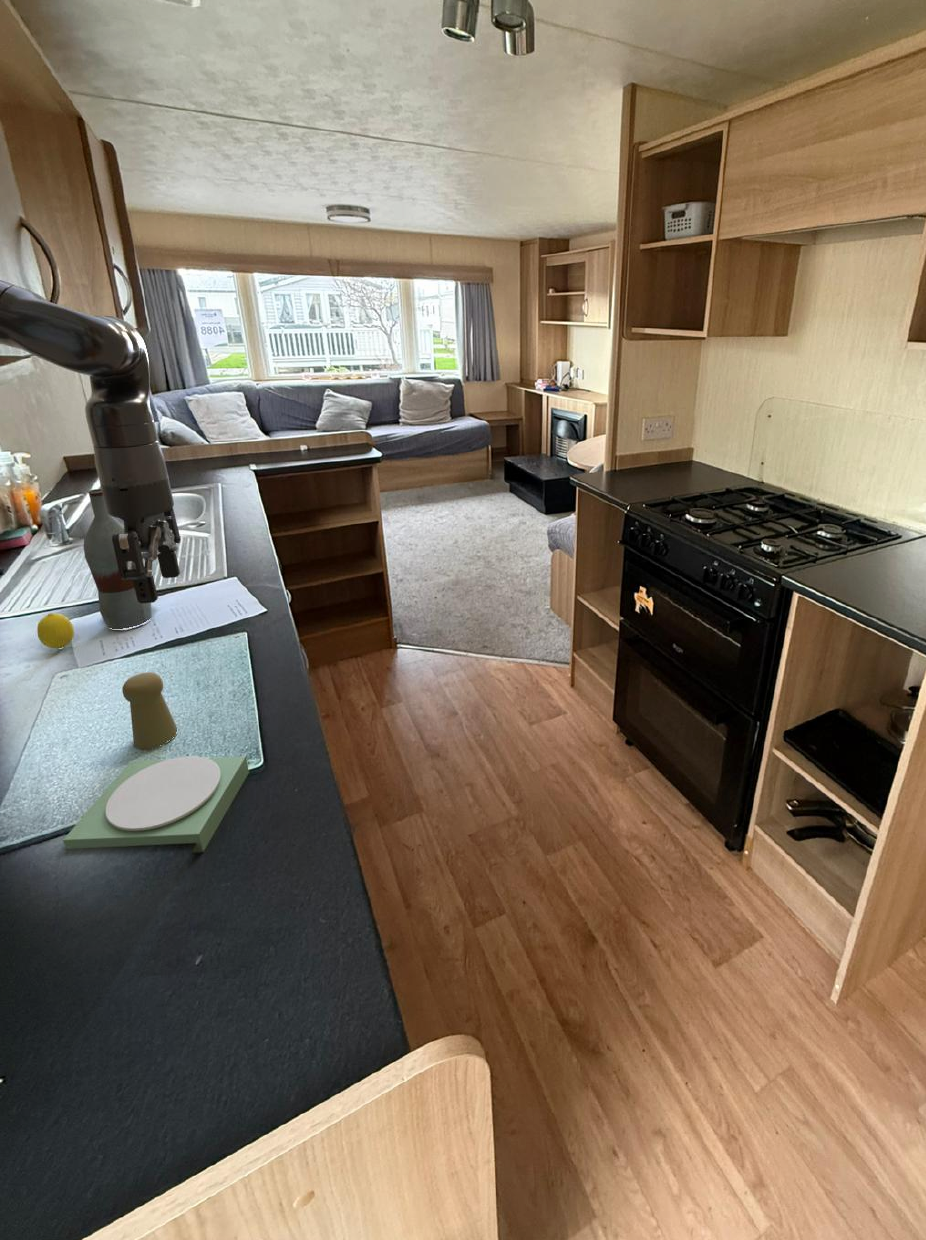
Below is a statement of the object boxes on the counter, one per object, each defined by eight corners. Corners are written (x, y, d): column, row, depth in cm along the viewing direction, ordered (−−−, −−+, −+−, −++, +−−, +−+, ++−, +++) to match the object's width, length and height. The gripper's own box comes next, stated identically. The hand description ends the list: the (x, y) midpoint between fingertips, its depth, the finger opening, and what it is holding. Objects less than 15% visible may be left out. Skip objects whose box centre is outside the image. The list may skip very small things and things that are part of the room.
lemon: (42, 648, 119) (31, 613, 117) (76, 639, 123) (66, 604, 120) (45, 659, 116) (33, 622, 113) (80, 649, 119) (69, 614, 116)
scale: (66, 858, 73) (58, 835, 71) (134, 777, 86) (127, 755, 84) (203, 852, 74) (197, 829, 72) (249, 772, 87) (245, 751, 85)
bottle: (96, 625, 129) (58, 492, 118) (141, 609, 136) (109, 482, 126) (117, 636, 124) (80, 499, 114) (163, 619, 131) (131, 488, 121)
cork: (126, 752, 91) (108, 691, 87) (143, 727, 96) (127, 669, 93) (170, 746, 92) (154, 686, 88) (183, 722, 97) (169, 665, 94)
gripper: (125, 466, 84) (150, 571, 89) (74, 492, 71) (107, 614, 76) (184, 464, 85) (205, 567, 91) (144, 489, 72) (171, 608, 78)
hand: (160, 588), depth 83 cm, fingers open, 8 cm apart
